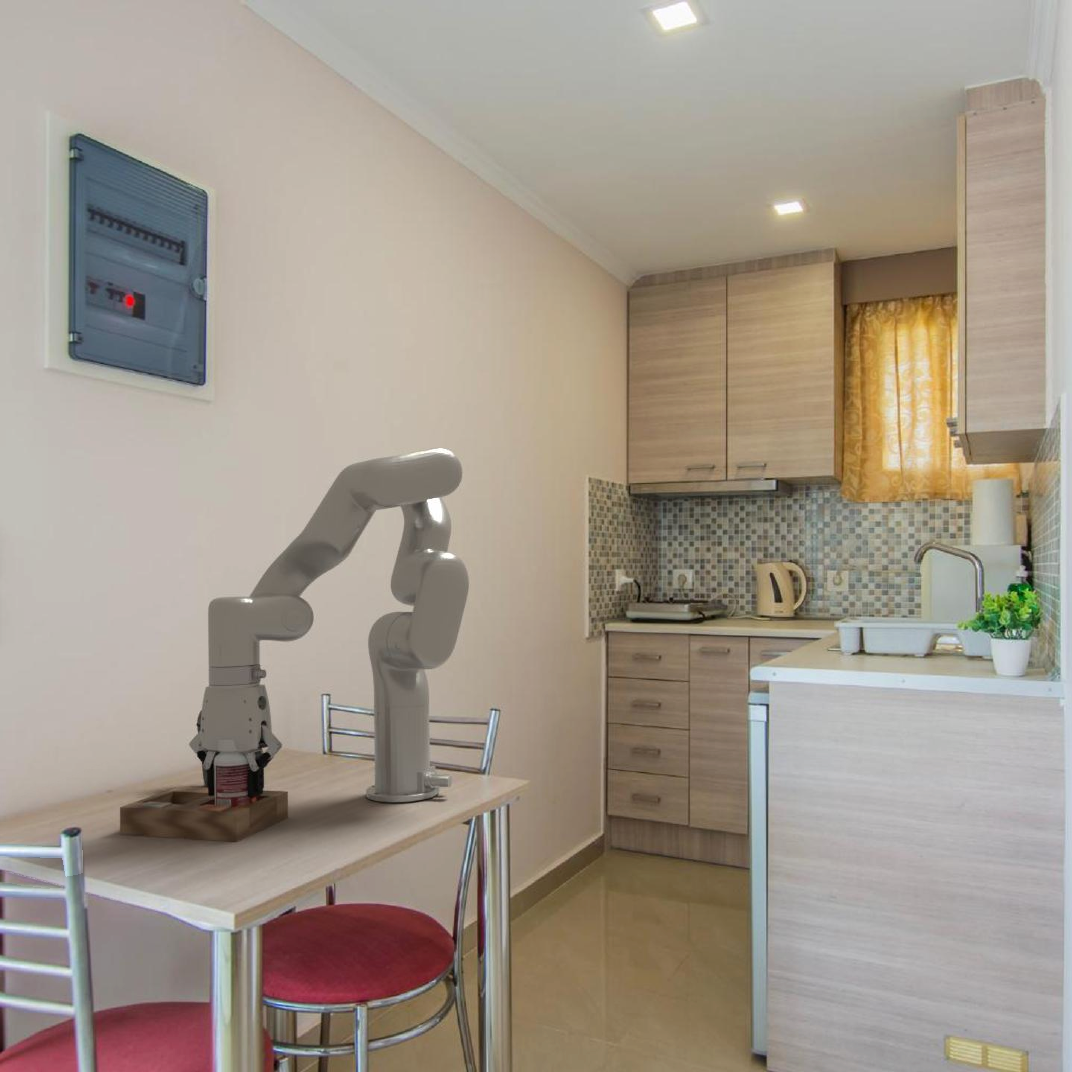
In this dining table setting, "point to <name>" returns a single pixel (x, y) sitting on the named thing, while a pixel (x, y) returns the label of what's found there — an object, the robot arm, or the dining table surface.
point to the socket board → (201, 815)
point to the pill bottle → (231, 776)
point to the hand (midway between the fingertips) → (235, 793)
